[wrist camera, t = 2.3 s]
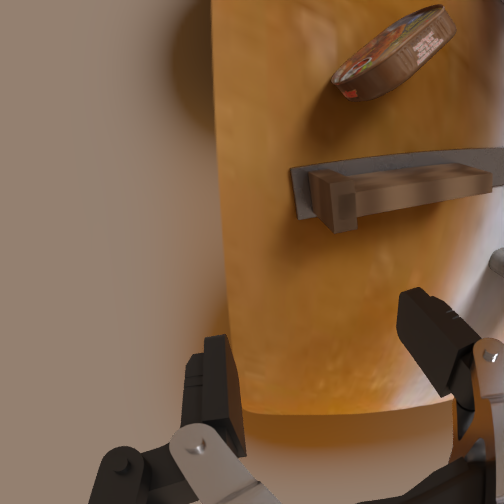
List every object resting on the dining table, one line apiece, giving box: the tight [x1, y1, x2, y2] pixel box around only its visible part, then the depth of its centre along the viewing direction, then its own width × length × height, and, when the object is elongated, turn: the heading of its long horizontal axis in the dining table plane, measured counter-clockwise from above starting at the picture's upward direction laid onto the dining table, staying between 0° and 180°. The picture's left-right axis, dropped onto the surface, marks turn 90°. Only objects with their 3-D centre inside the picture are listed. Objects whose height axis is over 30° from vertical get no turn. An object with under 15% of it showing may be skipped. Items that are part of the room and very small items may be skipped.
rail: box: [290, 148, 504, 220], centre depth 29 cm, size 36×5×1 cm, turn 100°
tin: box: [331, 5, 456, 102], centre depth 20 cm, size 15×3×8 cm, turn 135°
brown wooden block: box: [308, 163, 493, 234], centre depth 25 cm, size 18×4×6 cm, turn 100°
